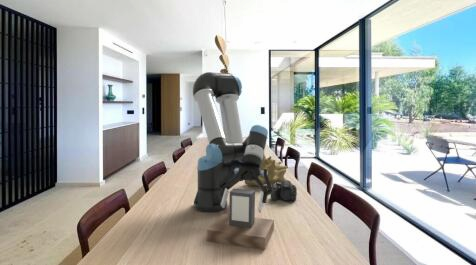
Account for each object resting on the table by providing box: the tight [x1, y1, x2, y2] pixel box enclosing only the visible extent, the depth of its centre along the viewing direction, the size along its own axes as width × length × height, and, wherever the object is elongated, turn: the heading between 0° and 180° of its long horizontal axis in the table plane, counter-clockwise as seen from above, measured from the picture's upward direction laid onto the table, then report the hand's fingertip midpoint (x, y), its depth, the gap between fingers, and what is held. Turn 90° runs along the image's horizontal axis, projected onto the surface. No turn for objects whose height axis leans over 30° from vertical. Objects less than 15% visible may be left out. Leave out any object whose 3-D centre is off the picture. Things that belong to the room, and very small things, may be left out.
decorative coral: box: [244, 153, 288, 187], centre depth 175 cm, size 26×22×25 cm
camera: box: [270, 179, 298, 202], centre depth 149 cm, size 13×10×10 cm
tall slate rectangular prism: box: [228, 187, 256, 228], centre depth 107 cm, size 8×5×12 cm, turn 74°
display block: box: [206, 213, 275, 250], centre depth 108 cm, size 20×16×4 cm
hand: (240, 208), depth 107 cm, fingers open, 13 cm apart
